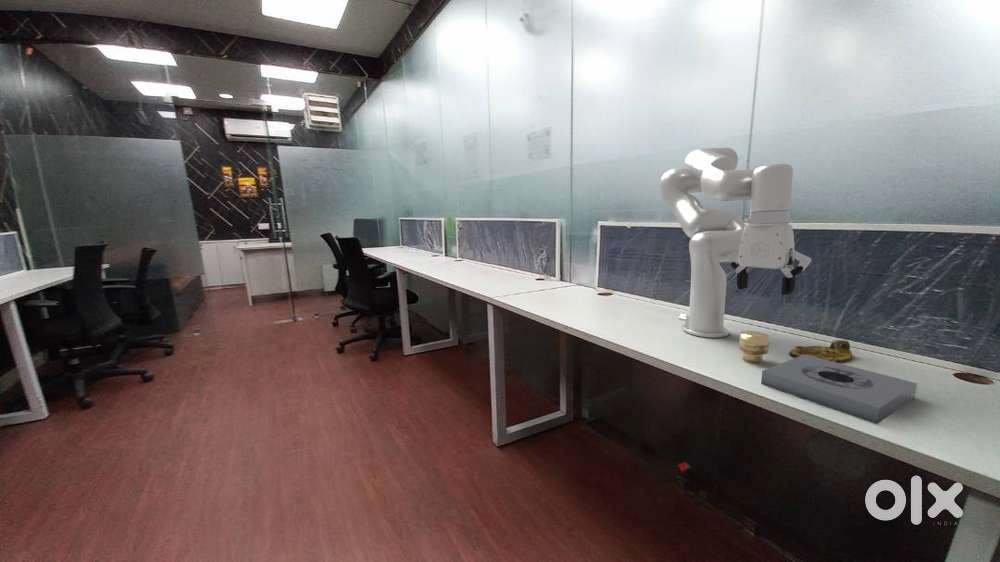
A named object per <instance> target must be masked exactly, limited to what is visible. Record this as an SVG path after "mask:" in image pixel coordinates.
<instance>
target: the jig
mask: <svg viewBox="0 0 1000 562" xmlns="http://www.w3.org/2000/svg"><path fill="white" fill-rule="evenodd" d="M760 384H761V385H762V386H765V385H766V386H765V387H769V388H772V389H774V390H778V391H781V392H783V393H786V394H788V393H789V395H791V394H792V396H794V395H795V397H798V398H800V399H804V400H806V401H809V402H811V401H812V403H814V402H815V403H814V404H817V405H821V406H823V407H826V408H829V409H832V410H834V411H838V412H841V413H843V414H846V415H849V416H852V417H854V418H858V419H860V420H863V421H866V422H869V423H873V424H875V425H879V424H880V423H881V422H882V421H884V420H885V419H887V418H888V417H889V416H891V415H892V414H894V413H895V412H896V411H898V410H900V409H901V408H902V407H904V406H906V405H907V404H908V403H909V402H911V401H912V400H914V399H915V398H916V392H917V386H918V383H917V382H914V381H911V380H906V379H902V378H898V377H894V376H891V375H886V374H882V373H879V372H875V371H871V370H866V369H863V368H859V367H855V366H852V365H851V366H850V365H847V364H845V363H836V362H832V361H829V360H825V359H821V358H817V357H813V356H809V355H805V354H803V355H801V356H798V357H792V358H791V359H789V360H787V361H784V362H782V363H779V364H776V365H774V366H771V367H769V368H766V369H763V370H762V371H761V382H760Z"/></svg>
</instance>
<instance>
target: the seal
mask: <svg viewBox="0 0 1000 562" xmlns="http://www.w3.org/2000/svg"><path fill="white" fill-rule="evenodd" d="M850 345H851V344H850V342H849V341H848V340H844V339H843V340H841V339H840V340H833V341H832V342H831V343H830V345H829V346H825V345H824V346H823V345H822V346H821V345H812V346H811V345H809V346H804V345H803V346H802V345H801V346H799V345H797V346H795V347H794V348H792V349H791V350H790V351H789V353H788V355H789V356H790V357H792V358H796V357H798V356H801V355H803V354H805V355H809V356H813V357H817V358H821V359H825V360H829V361H832V362H836V363H839V362H843V363H847V362H846V361H849V362H851V361H853V357H854V356H853V353H852V350H850V349H851V346H850ZM850 360H851V361H850Z"/></svg>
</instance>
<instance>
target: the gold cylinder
mask: <svg viewBox="0 0 1000 562" xmlns="http://www.w3.org/2000/svg"><path fill="white" fill-rule="evenodd" d="M770 338H771V336H770V335H769V334H767V333H764V332H761V331H755V330H742V331H740V332H739V341H738V342H739V343H738V349H739V351H742V352H743V353H742V361H744V362H747V363H750V364H754V365H755V364H757V365H759V364H762V363H763V359H764V358H763V357H764V355H766V354H769V349H770Z"/></svg>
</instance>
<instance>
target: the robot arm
mask: <svg viewBox="0 0 1000 562" xmlns="http://www.w3.org/2000/svg"><path fill="white" fill-rule="evenodd" d="M738 162H739V157H738V154H737V152H736V151H735V150H734V149H733V148H730V147H705V148H698V149H695V150H693V151H691V152H689V154H687V156H686V158H685V160H684V164H683V165H684V167H678V168H677V167H676V168H672V169H670V170H668V171H666V172H664V173H663V175H662V176H661V178H660V182H659V190H660V195H661V198H662V200H663V202H664V204H665V205H666V206H667V207H668V209H669V210H670V211H671V212H672V213H673V214H674V216H675V218H676V220H677V221H678V223H679V225H680V227H681V229H682V231H683V232H684V234H685V235H686V236H687V237H688V238H690V240H689V243H688V251H689V257H690V270H691V271H690V290H689V291H690V293H689V307H688V314H687V313H680V315H679V316H678V320H679V321H682V322H685V323H684V325H682V331H684V332H685V333H687V334H689V335H692V336H696V337H700V338H701V337H702V338H718V339H719V338H724V337H727V336H728V335H730V330H729V329H728V328H727V327H724V325H725V324H724V323H725V321H724V320H725V308H726V307H725V305H726V294H727V292H726V291H727V274H726V272H725V270H724V269H723V268H722V266H721V264H720V263H729V264H730V266H731V268H732V269H734V272H735V274H736V285H737V289H738V290H744V289H747V288H748V285H749V284H748V282H749V272H747V271H748V270H749V269H750V268H755V269H757V268H758V269H769V270H771V269H772V270H774V269H775V270H776V269H777V270H779V269H780V271H781V272H782V273H783V275H785V276H784V277H782V283H781V295H783V296H788V295H792V294H793V292H794V290H795V284H796V277H798V276H799V275H800V274H802V273H803V272H805V270H806V268H808V266H809V265H810V263H811V262H812V260H813V259H812V258H811V257H810V256H807V255H805V254H802V253H800V252H798V251H797V250H795V237H794V236H795V235H794V229H793V225H792V224H789V223H790V215H791V211H790V210H791V202H792V189H793V179H794V178H793V176H794V175H793V174H794V169H793V167H792V165H790V164H789V163H774V164H766V165H761V166H758V167H757V168H754V169H736V168H737V167H738V164H739V163H738ZM690 193H691V194H690ZM692 193H695V194H696V193H704V194H705V195H706V196H708V197H709V198H712V199H714V200H716V201H720V202H734V201H735V202H736V201H737V202H738V201H750V202H749V203H750V205H749V213H748V215H744V217H743V220H742V219H741V217H740V216H739V215H738V213H736V212H735V210H732V209H729V208H706V207H705V206H704V205H703V204H702V203H701V201H700V200H699V199H698V198H697V197H695V196H694V195H693V194H692ZM745 222H747V224H748V225H746V224H745ZM795 260H797V261H798V262H799V263H798V265H797V266H796V267H794V266H793V265H794V262H795Z"/></svg>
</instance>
